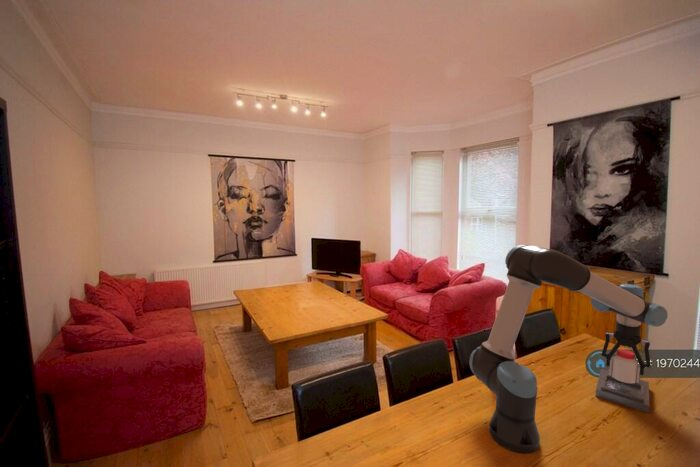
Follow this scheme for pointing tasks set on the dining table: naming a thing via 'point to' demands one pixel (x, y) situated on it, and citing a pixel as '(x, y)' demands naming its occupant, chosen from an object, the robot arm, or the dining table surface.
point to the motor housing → (623, 391)
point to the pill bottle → (624, 366)
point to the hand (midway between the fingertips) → (623, 377)
